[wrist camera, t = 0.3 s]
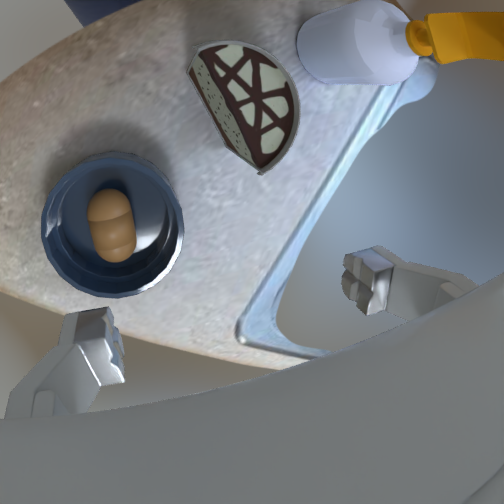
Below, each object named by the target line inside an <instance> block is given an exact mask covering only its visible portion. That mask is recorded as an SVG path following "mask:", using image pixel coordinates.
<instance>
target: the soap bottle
mask: <svg viewBox="0 0 504 504" xmlns="http://www.w3.org/2000/svg"><path fill="white" fill-rule="evenodd" d="M296 46H297V51H298V55H299V59H300V61H301V62H302V64H303V66H304V67H305V69H306V70H307V71H308V72H309V73H310V74H311V75H312V76H313V77H314V78H315V79H317V80H320V81H322V82H324V83H326V84H337V85H387V86H391V85H394V84H397V83H400V82H402V81H404V80H406V79H407V78H408V77H409V76H410V75H411V74H412V73H413V72H414V70H415V68H416V66H417V63H418V59H419V56H429V55H430V54H432V52H433V54H434V58H435V59H436V60H437V62H439V63H440V64H446V63H450V62H453V61H458V60H462V59H467V58H479V59H490V60H499V61H504V12H461V13H437V14H426V16H425V17H424V22H423V21H419V20H413V21H409V19H408V18H407V17H406V16H405V14H404V13H403V12H402V11H401V10H399V9H398V8H397V7H395V6H394V5H393V4H390V3H387V2H384V1H381V0H360V1H357V2H354V3H351V4H347V5H344V6H341V7H338V8H335V9H333V10H330V11H327V12H324V13H321V14H319V15H316V16H313V17H312V18H310V19H309V20H308V21H306V22H305V23H304V24H303V26H302V27H301V29H300V31H299V33H298V37H297V45H296Z"/></svg>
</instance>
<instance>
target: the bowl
mask: <svg viewBox="0 0 504 504" xmlns="http://www.w3.org/2000/svg"><path fill="white" fill-rule="evenodd" d="M103 189H116V190H118V191H120V192H122V193H123V194H124V195H125V196H126V197H127V198H128V200H129V202H130V205H131V209H132V215H133V220H134V225H135V230H136V235H137V244H136V247H135V250H134V252H133V253H132V255H131V256H130V257H129V258H127V259H126V260H124V261H121V262H115V263H114V262H109V261H106V260H104V259H103V258H101V257H100V256H99V255H98V253H97V252H96V250H95V247H94V244H93V240H92V236H91V232H90V228H89V224H88V220H87V206H88V203H89V201H90V199H91V198H92V197H93V195H95V194H96V193H97V192H99V191H101V190H103ZM183 237H184V223H183V215H182V209H181V206H180V204H179V201H178V199H177V196H176V194H175V192H174V190H173V188H172V186H171V184H170V182H169V180H168V178H167V177H166V176H165V175H164V174H163V173H162V172H161V171H160V170H159V169H158V168H157V167H156V166H155V165H154V164H153V163H152V162H150V161H148V160H146V159H144V158H142V157H140V156H138V155H136V154H133V153H125V152H117V151H110V152H105V153H100V154H96V155H92V156H89V157H88V158H86V159H84V160H83V161H81V162H79V163H78V164H76V165H75V166H73V167H72V168H71V169H70V170H69V171H68V172H67V173H66V174H65V175H64V176H63V177H62V178H61V179H60V180H59V182H58V183H57V184H56V185H55V187H54V188H53V189H52V191H51V192H50V193H49V195H48V198H47V201H46V203H45V206H44V209H43V212H42V216H41V239H42V242H43V245H44V249H45V252H46V255H47V258H48V260H49V261H50V263H51V264H52V265H53V267H54V268H55V270H56V271H57V273H58V274H59V275H60V276H61V277H62V278H63V279H64V280H66V281H67V282H68V283H69V284H71V285H72V286H73V287H75V288H76V289H78V290H80V291H83V292H85V293H88V294H90V295H93V296H96V297H105V298H117V299H118V298H123V297H128V296H133V295H137V294H139V293H141V292H143V291H145V290H147V289H149V288H151V287H153V286H155V285H156V284H157V283H158V282H159V281H160V280H161V279H162V278H163V277H164V276H165V275H166V274H167V273H168V272H169V271H170V270H171V269H172V267H173V265H174V263H175V261H176V259H177V258H178V256H179V254H180V252H181V247H182V242H183Z"/></svg>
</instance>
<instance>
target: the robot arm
mask: <svg viewBox="0 0 504 504" xmlns="http://www.w3.org/2000/svg"><path fill="white" fill-rule="evenodd" d="M343 266H344V268H345V269H346V270H345V272H344V273H343V275H342V282H341V284H342V289H343V292H344V294H345V295H346V296H347V297H348V298H349V300H352V301H356V306H357V307H358V308H359V309H360V310H361V311H362V312H363V313H364V314H365V315H366V316H369V315H372V314H375V313H378V312H381V311H384V310H385V311H386V312H388V313H391V314H393V315H395V316H398V317H400V318H402V319H405V320H407V321H409V322H406V323H404V324H402V325H400V326H397V327H395V328H393V329H391V330H388V331H386V332H383V333H381V334H379V335H376V336H374V337H371V338H369V339H366V340H364V341H361V342H359V343H356V344H354V345H351V346H349V347H346V348H343V349H341V350H338V351H335V352H333V353H330V354H327V355H324V356H322V357H319V358H316V359H313V360H310V361H307V362H304V363H301V364H298V365H295V366H292V367H289V368H286V369H283V370H280V371H277V372H273V373H270V374H267V375H263V376H260V377H257V378H253V379H250V380H246V381H243V382H239V383H235V384H231V385H228V386H224V387H220V388H216V389H212V390H208V391H204V392H200V393H196V394H191V395H187V396H182V397H178V398H173V399H168V400H163V401H158V402H153V403H147V404H142V405H136V406H130V407H124V408H118V409H111V410H104V411H97V412H89V413H87V411H88V409H89V407H90V406H91V404H92V402H93V400H94V399H95V397H96V395H97V393H98V392H99V390H100V387H101V386H106V385H112V384H116V383H122V382H125V367H124V364H123V362H122V359H123V357H124V349H123V344H122V339H121V335H120V333H119V330H118V328H116V327H115V326H114V316H113V314H112V311H111V309H110V308H109V307H103V308H97V309H91V310H86V311H80V312H74V313H69V314H66V315H65V316H64V320H63V324H62V328H61V332H60V337H59V341H58V345H57V346H56V347H53V348H52V349H51V350H50V351H49V352H48V353H47V354H46V355H45V356H44V357H43V358H42V359H41V360H40V361H39V362H38V363H37V364H36V365H35V366H34V367H33V369H32V370H31V371H30V372H29V373H28V374H27V375H26V376H25V377H24V378H23V379H22V380H21V381H20V382H19V383H18V384H17V386H16V387H15V388H14V389H13V390H12V391H11V392H10V395H9V399H8V404H7V408H6V413H5V418H4V419H0V504H504V272H503V273H502V274H500V275H498V276H497V277H495V278H493V279H491V280H489V281H488V282H486V283H484V284H482V285H481V286H478V285H477V284H476V283H474V282H473V281H471V280H470V279H468V278H467V277H465V276H464V275H462V274H458V273H454V272H450V271H446V270H442V269H438V268H434V267H430V266H425V265H421V264H417V263H413V262H408V263H407V262H405V261H404V260H402V259H401V258H399V257H398V256H396V255H395V254H393V253H392V252H390V251H389V250H387V249H386V248H384V247H383V246H374V247H371V248H368V249H364V250H361V251H357V252H353V253H350V254H346V255H345V257H344V260H343Z"/></svg>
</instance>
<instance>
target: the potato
mask: <svg viewBox="0 0 504 504" xmlns="http://www.w3.org/2000/svg"><path fill="white" fill-rule="evenodd" d="M87 220H88V224H89V228H90V232H91V236H92V240H93V244H94V247H95V250H96V252H97V253H98V255H99V256H100V257H101V258H103V259H104V260H106V261H109V262H114V263H115V262H121V261H124V260H126V259H127V258H129V257H130V256H131V255H132V253H133V252H134V250H135V247H136V244H137V235H136V230H135V225H134V220H133V215H132V209H131V205H130V202H129V200H128V198H127V197H126V196H125V195H124V194H123V193H122V192H120V191H118V190H116V189H103V190H101V191H99V192H97V193H96V194H95V195H93V197H92V198H91V199H90V201H89V203H88V206H87Z"/></svg>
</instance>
